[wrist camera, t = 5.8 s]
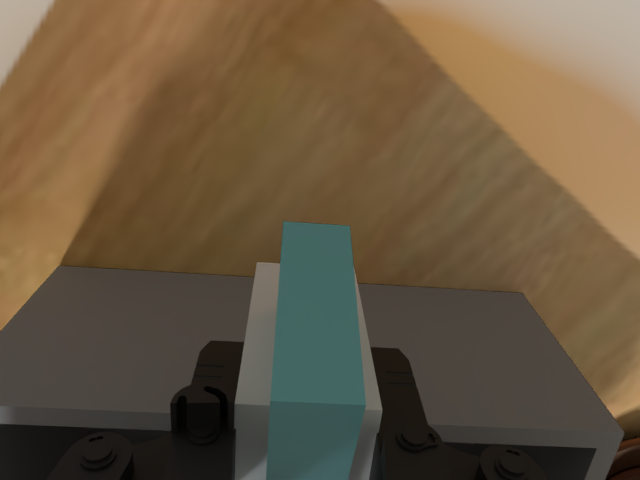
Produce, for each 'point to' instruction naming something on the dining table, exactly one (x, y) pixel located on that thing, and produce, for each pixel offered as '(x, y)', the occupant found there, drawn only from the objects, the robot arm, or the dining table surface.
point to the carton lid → (315, 357)
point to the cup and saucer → (626, 461)
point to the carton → (230, 325)
